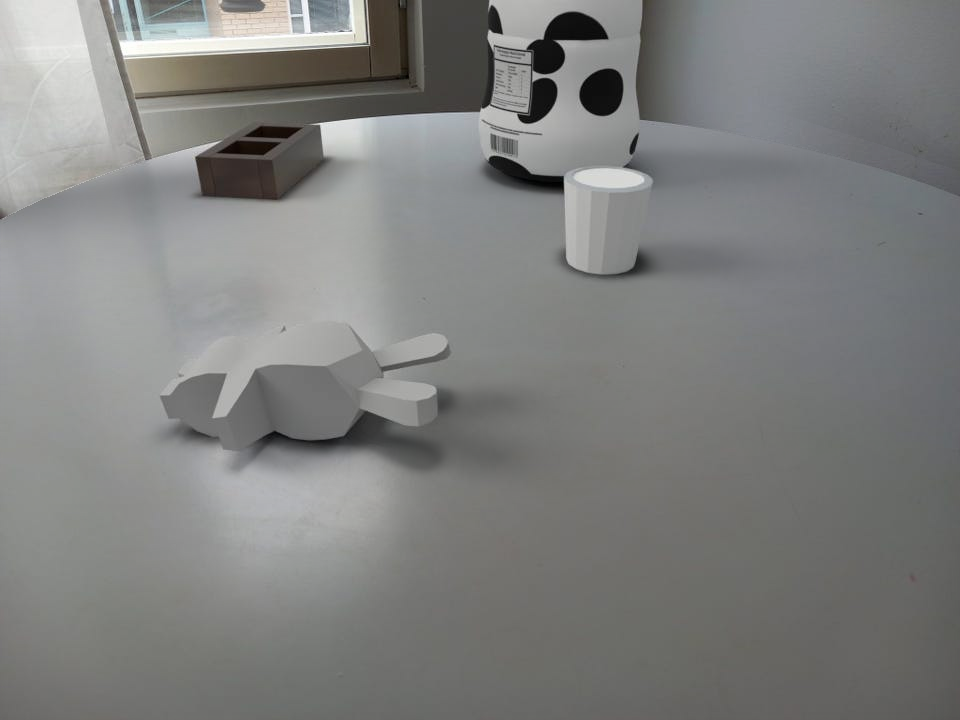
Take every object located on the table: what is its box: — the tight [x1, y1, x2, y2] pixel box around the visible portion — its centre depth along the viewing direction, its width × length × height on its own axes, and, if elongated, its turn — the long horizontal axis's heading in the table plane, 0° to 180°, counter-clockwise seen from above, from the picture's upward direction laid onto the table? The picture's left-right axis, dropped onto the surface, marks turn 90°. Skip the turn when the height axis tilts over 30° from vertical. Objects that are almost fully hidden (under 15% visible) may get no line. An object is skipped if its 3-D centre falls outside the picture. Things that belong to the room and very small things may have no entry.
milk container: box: [478, 0, 643, 183], centre depth 78 cm, size 17×17×18 cm
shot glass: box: [563, 166, 654, 275], centre depth 59 cm, size 7×7×7 cm
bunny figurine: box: [159, 320, 452, 452], centre depth 41 cm, size 10×5×15 cm
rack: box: [194, 121, 325, 200], centre depth 80 cm, size 8×14×4 cm, turn 172°
